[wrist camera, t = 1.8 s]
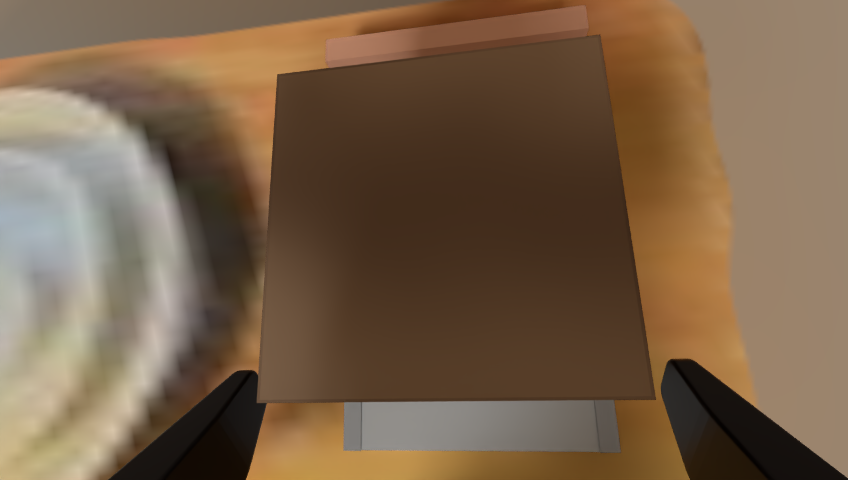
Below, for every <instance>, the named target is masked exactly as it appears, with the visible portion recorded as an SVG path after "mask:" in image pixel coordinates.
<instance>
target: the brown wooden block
mask: <svg viewBox="0 0 848 480" xmlns="http://www.w3.org/2000/svg"><path fill="white" fill-rule="evenodd" d="M568 400H656V397H655V390H654V384H653V377H652V371H651V364H650V358H649V351H648V345H647V338H646V331H645V325H644V318H643V312H642V305H641V299H640V292H639V286H638V279H637V272H636V266H635V259H634V253H633V246H632V240H631V233H630V227H629V220H628V213H627V207H626V200H625V194H624V187H623V181H622V174H621V168H620V161H619V154H618V148H617V141H616V135H615V128H614V122H613V115H612V108H611V102H610V95H609V89H608V82H607V76H606V69H605V63H604V56H603V49H602V43H601V36H600V35H593V36H585V37H577V38H569V39H561V40H552V41H544V42H536V43H528V44H520V45H512V46H504V47H496V48H488V49H480V50H472V51H463V52H455V53H447V54H439V55H431V56H423V57H415V58H407V59H399V60H391V61H382V62H374V63H366V64H358V65H350V66H342V67H334V68H326V69H318V70H310V71H301V72H293V73H285V74H277V88H276V104H275V119H274V135H273V151H272V167H271V183H270V199H269V215H268V230H267V246H266V262H265V278H264V294H263V310H262V326H261V341H260V357H259V373H258V389H257V403H326V402H447V401H568Z"/></svg>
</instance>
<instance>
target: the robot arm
mask: <svg viewBox="0 0 848 480" xmlns="http://www.w3.org/2000/svg"><path fill="white" fill-rule="evenodd" d="M257 389H258V374H257V373H256V372H255V371H253V370H241V371H236V372H235V373H233V374H232V375H231V376H230V377H228V378H227V379H226V380H225V381H224V382H223V383H221V384H220V385H219V386H218V387H217V388H215V389H214V390H213V391H212V392H211V393H210V394H208V395H207V396H206V397H205V398H204V399H203V400H201V401H200V402H199V403H198V404H197V405H195V406H194V407H193V408H192V409H191V410H190V411H188V412H187V413H186V414H185V415H184V416H183V417H181V418H180V419H179V420H178V421H177V422H175V423H174V424H173V425H172V426H171V427H170V428H168V429H167V430H166V431H165V432H164V433H163V434H161V435H160V436H159V437H158V438H157V439H155V440H154V441H153V442H152V443H151V444H150V445H148V446H147V447H146V448H145V449H144V450H142V451H141V452H140V453H139V454H138V455H137V456H135V457H134V458H133V459H132V460H131V461H130V462H128V463H127V464H126V465H125V466H124V467H122V468H121V469H120V470H119V471H118V472H117V473H115V474H114V475H113V476H112V477H111V478H110V479H108V480H246V478H247V475H248V472H249V469H250V465H251V462H252V459H253V455H254V451H255V447H256V443H257V439H258V435H259V431H260V427H261V424H262V420H263V416H264V412H265V408H266V404H267V403H257ZM661 394H662V398H663V401H664V404H665V407H666V410H667V413H668V416H669V419H670V423H671V426H672V429H673V432H674V435H675V438H676V441H677V444H678V447H679V450H680V453H681V456H682V460H683V462H684V465H685V468H686V471H687V474H688V476H689V478H690V480H848V478H847V477H845V476H844V475H843V474H841V473H840V472H839V471H838V470H836V469H835V468H834V467H832V466H831V465H830V464H828V463H827V462H826V461H824V460H823V459H822V458H821V457H819V456H818V455H817V454H815V453H814V452H813V451H811V450H810V449H809V448H807V447H806V446H805V445H803V444H802V443H801V442H800V441H798V440H797V439H796V438H794V437H793V436H792V435H790V434H789V433H788V432H787V431H785V430H784V429H783V428H781V427H780V426H779V425H778V424H776V423H775V422H773V421H772V420H771V419H770V418H768V417H767V416H766V415H764V414H763V413H762V412H761V411H759V410H758V409H757V408H755V407H754V406H753V405H751V404H750V403H749V402H748V401H746V400H745V399H744V398H742V397H741V396H740V395H738V394H737V393H736V392H735V391H733V390H732V389H731V388H729V387H728V386H727V385H725V384H724V383H723V382H721V381H720V380H719V379H718V378H716V377H715V376H714V375H712V374H711V373H710V372H708V371H707V370H706V369H705V368H703V367H702V366H701V365H699V364H698V363H697V362H695V361H693V360H691V359H670V360H669V361H668V362H667V365H666V368H665V372H664V376H663V380H662V383H661Z"/></svg>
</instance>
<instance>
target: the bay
mask: <svg viewBox="0 0 848 480" xmlns="http://www.w3.org/2000/svg"><path fill="white" fill-rule="evenodd" d="M588 29H589V25H588V19H587V12H586V5H582V6H574V7H567V8H559V9H552V10H544V11H537V12H529V13H522V14H514V15H507V16H499V17H492V18H484V19H477V20H469V21H462V22H454V23H447V24H439V25H432V26H424V27H417V28H409V29H402V30H394V31H387V32H379V33H372V34H364V35H357V36H350V37H342V38H335V39H327V40H326V59H325V61H326V63H327V65H328V67H329V68H334V67H342V66H350V65H358V64H366V63H374V62H382V61H391V60H399V59H407V58H415V57H423V56H431V55H439V54H447V53H455V52H463V51H472V50H480V49H488V48H496V47H504V46H512V45H520V44H528V43H536V42H544V41H552V40H561V39H569V38H577V37H585V36H586V35H587V32H588ZM344 450H347V451H361V450H422V451H547V452H601V453H621V449H620V441H619V434H618V426H617V418H616V411H615V403H614V400H568V401H447V402H344Z"/></svg>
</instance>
